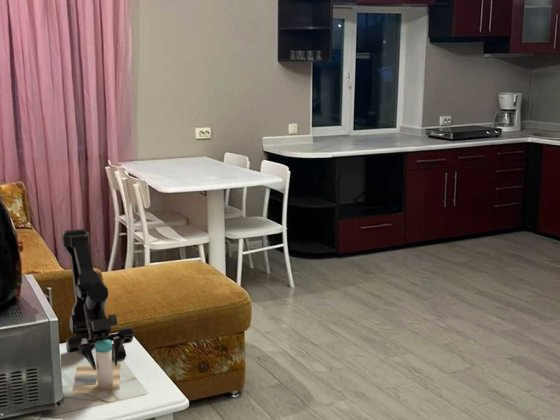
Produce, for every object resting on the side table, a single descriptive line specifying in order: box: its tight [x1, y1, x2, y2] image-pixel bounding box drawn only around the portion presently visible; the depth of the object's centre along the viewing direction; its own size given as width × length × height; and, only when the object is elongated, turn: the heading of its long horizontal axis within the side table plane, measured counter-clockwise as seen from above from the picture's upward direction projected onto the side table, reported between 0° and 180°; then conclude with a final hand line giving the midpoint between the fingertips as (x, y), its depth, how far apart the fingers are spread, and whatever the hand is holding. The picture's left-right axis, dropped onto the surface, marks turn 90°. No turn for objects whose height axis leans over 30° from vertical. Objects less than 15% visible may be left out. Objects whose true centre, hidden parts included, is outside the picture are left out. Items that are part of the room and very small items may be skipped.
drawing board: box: [71, 362, 122, 395], centre depth 200 cm, size 18×13×1 cm
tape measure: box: [112, 343, 127, 361], centre depth 215 cm, size 7×7×4 cm
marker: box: [94, 339, 113, 388], centre depth 195 cm, size 5×5×13 cm
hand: (105, 367), depth 193 cm, fingers open, 6 cm apart
